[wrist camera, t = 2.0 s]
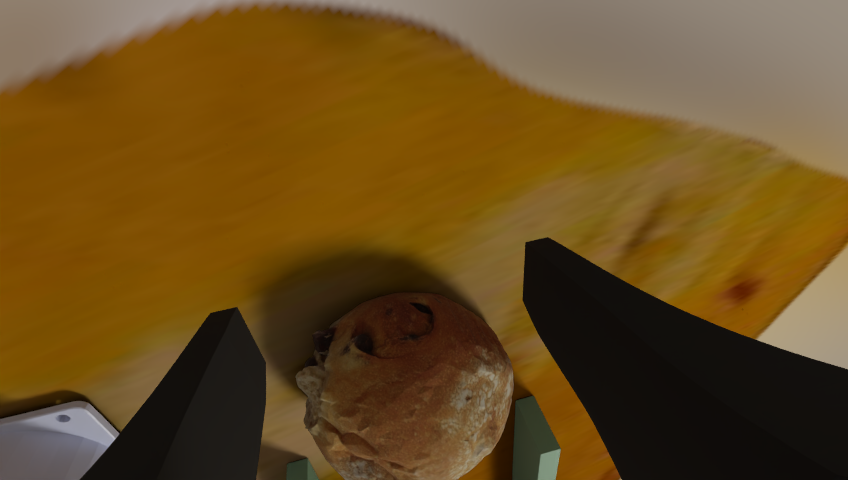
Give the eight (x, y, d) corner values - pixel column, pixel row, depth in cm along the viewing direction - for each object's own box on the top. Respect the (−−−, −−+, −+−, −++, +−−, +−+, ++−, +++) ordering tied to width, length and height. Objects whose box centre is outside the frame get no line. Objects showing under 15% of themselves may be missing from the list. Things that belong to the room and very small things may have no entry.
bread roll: (353, 376, 27) (402, 509, 23) (232, 364, 18) (278, 577, 14) (483, 297, 26) (557, 424, 22) (421, 241, 17) (529, 440, 13)
